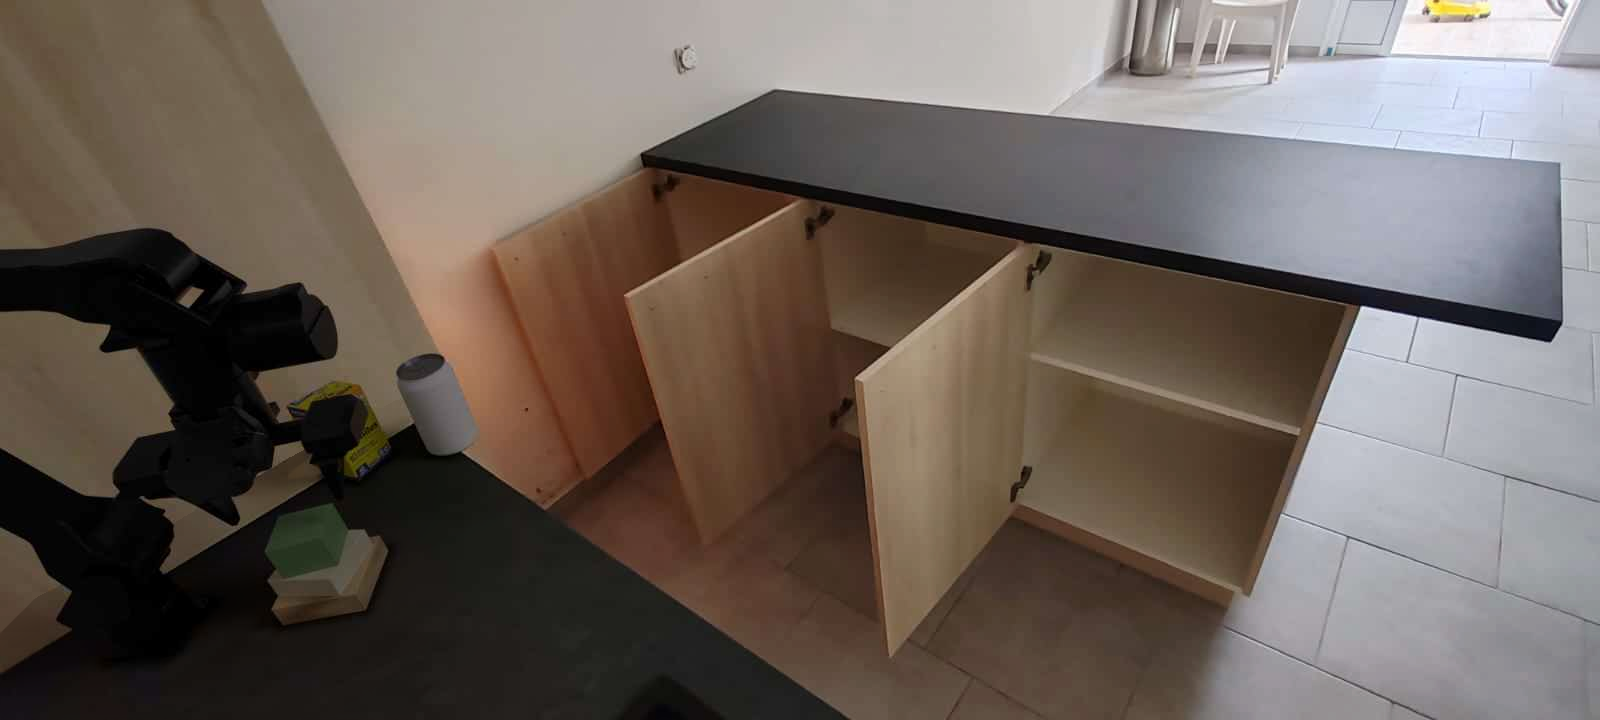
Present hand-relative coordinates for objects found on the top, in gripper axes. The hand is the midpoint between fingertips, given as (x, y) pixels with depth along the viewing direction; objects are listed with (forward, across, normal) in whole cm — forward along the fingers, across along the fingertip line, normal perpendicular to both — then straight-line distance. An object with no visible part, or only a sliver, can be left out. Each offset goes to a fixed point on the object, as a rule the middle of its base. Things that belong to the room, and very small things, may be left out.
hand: (289, 510), depth 71 cm
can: (+12, +10, +22) cm, 26 cm away
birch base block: (+11, 0, 0) cm, 11 cm away
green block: (+6, 0, 0) cm, 6 cm away
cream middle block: (+9, 0, 0) cm, 9 cm away
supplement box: (+12, -2, +21) cm, 24 cm away
